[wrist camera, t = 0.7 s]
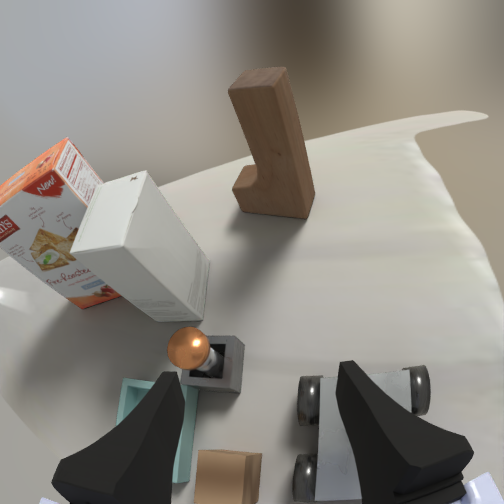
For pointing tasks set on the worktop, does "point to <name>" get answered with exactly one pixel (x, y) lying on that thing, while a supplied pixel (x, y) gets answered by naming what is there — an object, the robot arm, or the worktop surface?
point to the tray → (181, 472)
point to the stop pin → (194, 352)
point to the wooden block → (271, 146)
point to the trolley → (334, 434)
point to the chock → (227, 477)
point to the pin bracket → (230, 370)
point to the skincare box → (143, 250)
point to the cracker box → (52, 222)
